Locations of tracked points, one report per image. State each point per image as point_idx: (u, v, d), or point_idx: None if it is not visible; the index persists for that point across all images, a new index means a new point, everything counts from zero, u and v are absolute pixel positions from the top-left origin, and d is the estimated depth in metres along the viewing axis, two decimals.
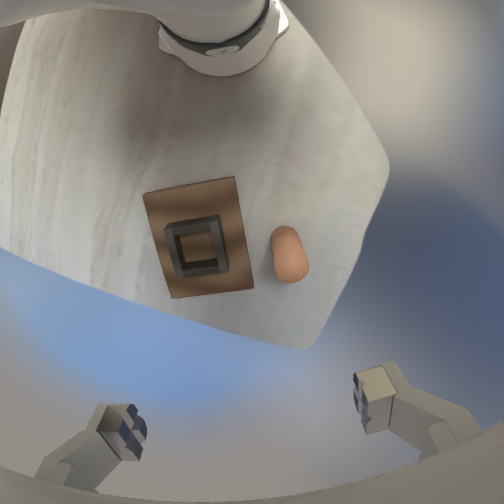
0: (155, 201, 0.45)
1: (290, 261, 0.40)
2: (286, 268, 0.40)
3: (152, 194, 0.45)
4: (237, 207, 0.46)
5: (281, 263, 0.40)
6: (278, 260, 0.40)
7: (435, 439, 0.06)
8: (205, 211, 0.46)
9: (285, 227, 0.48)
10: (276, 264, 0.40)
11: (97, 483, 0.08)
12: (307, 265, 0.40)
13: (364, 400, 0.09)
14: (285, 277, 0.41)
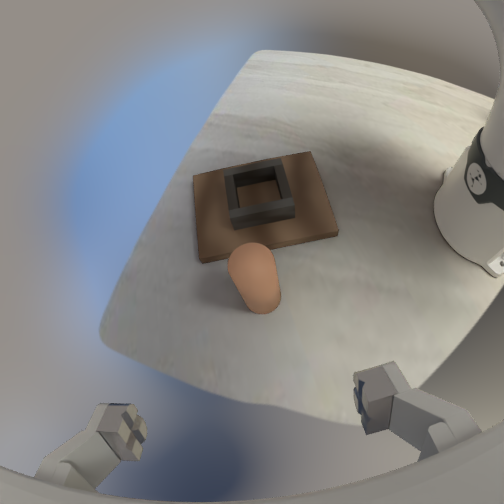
0: (304, 161, 0.44)
1: (260, 261, 0.29)
2: (250, 257, 0.30)
3: (312, 159, 0.44)
4: (304, 235, 0.39)
5: (257, 250, 0.30)
6: (261, 246, 0.30)
7: (435, 439, 0.06)
8: (297, 204, 0.41)
9: (280, 293, 0.37)
10: (255, 244, 0.30)
11: (97, 482, 0.08)
12: (254, 284, 0.28)
13: (364, 400, 0.09)
14: (236, 257, 0.30)
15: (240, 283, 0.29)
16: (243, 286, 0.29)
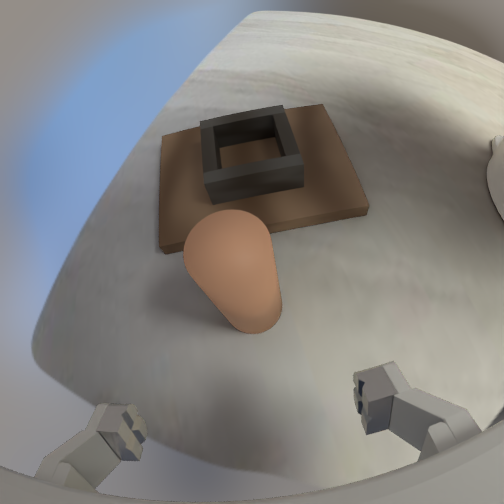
0: (315, 115, 0.31)
1: (244, 242, 0.15)
2: (225, 234, 0.16)
3: (325, 113, 0.31)
4: (319, 212, 0.25)
5: (239, 222, 0.16)
6: (247, 215, 0.16)
7: (435, 439, 0.06)
8: (307, 168, 0.27)
9: (281, 301, 0.23)
10: (236, 212, 0.16)
11: (96, 483, 0.08)
12: (231, 285, 0.14)
13: (364, 400, 0.09)
14: (199, 235, 0.16)
15: (204, 284, 0.15)
16: (210, 290, 0.15)
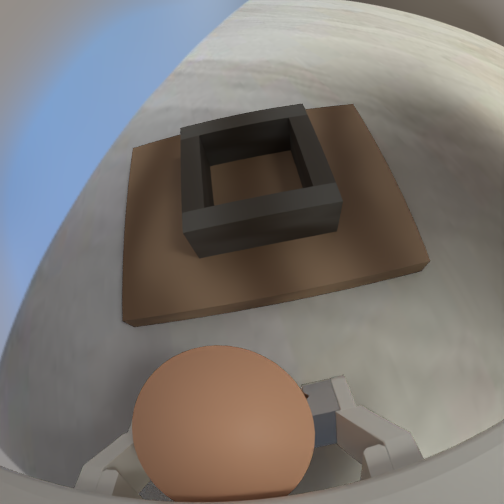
0: (345, 119, 0.22)
1: (255, 427, 0.06)
2: (214, 407, 0.07)
3: (358, 116, 0.22)
4: (360, 273, 0.16)
5: (243, 380, 0.07)
6: (261, 363, 0.07)
7: (369, 462, 0.06)
8: None
9: None
10: (237, 354, 0.07)
11: (139, 488, 0.08)
12: None
13: None
14: (161, 400, 0.07)
15: (179, 500, 0.06)
16: None
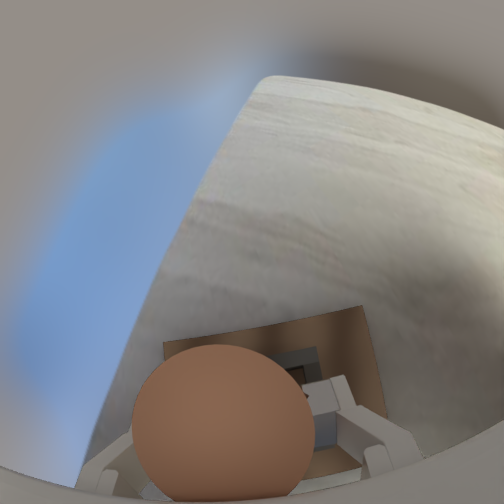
0: (352, 328, 0.25)
1: (255, 426, 0.06)
2: (215, 406, 0.07)
3: (364, 323, 0.25)
4: (342, 469, 0.20)
5: (243, 379, 0.07)
6: (261, 362, 0.07)
7: (369, 462, 0.06)
8: None
9: None
10: (237, 353, 0.07)
11: (139, 488, 0.08)
12: None
13: None
14: (161, 399, 0.07)
15: (178, 499, 0.06)
16: None
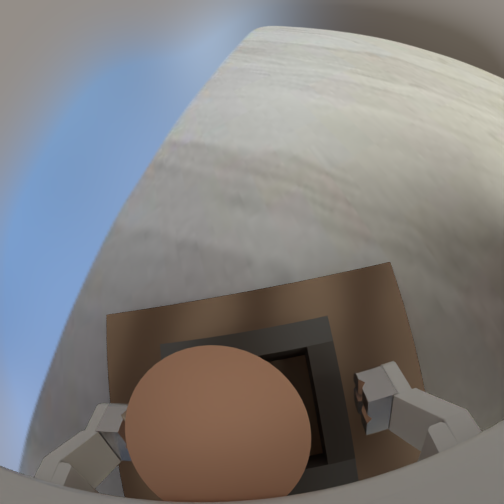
0: (378, 295, 0.17)
1: (250, 429, 0.06)
2: (209, 408, 0.06)
3: (395, 287, 0.17)
4: None
5: (237, 381, 0.07)
6: (256, 363, 0.07)
7: (435, 439, 0.06)
8: (357, 431, 0.14)
9: None
10: (231, 354, 0.07)
11: (97, 482, 0.08)
12: None
13: (364, 400, 0.09)
14: (154, 401, 0.07)
15: None
16: None
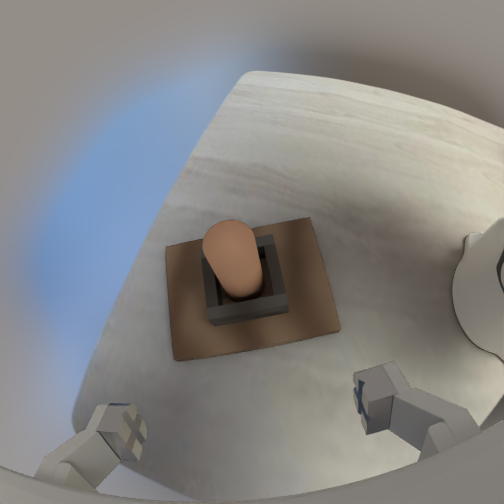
0: (302, 231, 0.37)
1: (238, 239, 0.26)
2: (228, 235, 0.26)
3: (311, 228, 0.37)
4: (299, 336, 0.32)
5: (235, 228, 0.27)
6: (240, 223, 0.27)
7: (435, 439, 0.06)
8: (292, 293, 0.34)
9: None
10: (234, 221, 0.27)
11: (97, 482, 0.08)
12: (231, 264, 0.25)
13: (364, 400, 0.09)
14: (212, 235, 0.27)
15: (216, 264, 0.25)
16: (219, 267, 0.25)
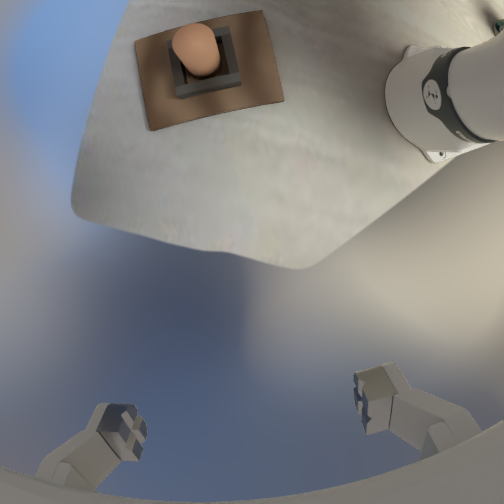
0: (254, 22, 0.34)
1: (201, 38, 0.26)
2: (192, 35, 0.26)
3: (263, 19, 0.34)
4: (250, 104, 0.38)
5: (198, 29, 0.26)
6: (202, 25, 0.26)
7: (435, 439, 0.06)
8: (244, 71, 0.36)
9: (221, 62, 0.35)
10: (197, 24, 0.26)
11: (97, 482, 0.08)
12: (196, 57, 0.27)
13: (364, 400, 0.09)
14: (179, 36, 0.26)
15: (184, 57, 0.27)
16: (186, 59, 0.27)
